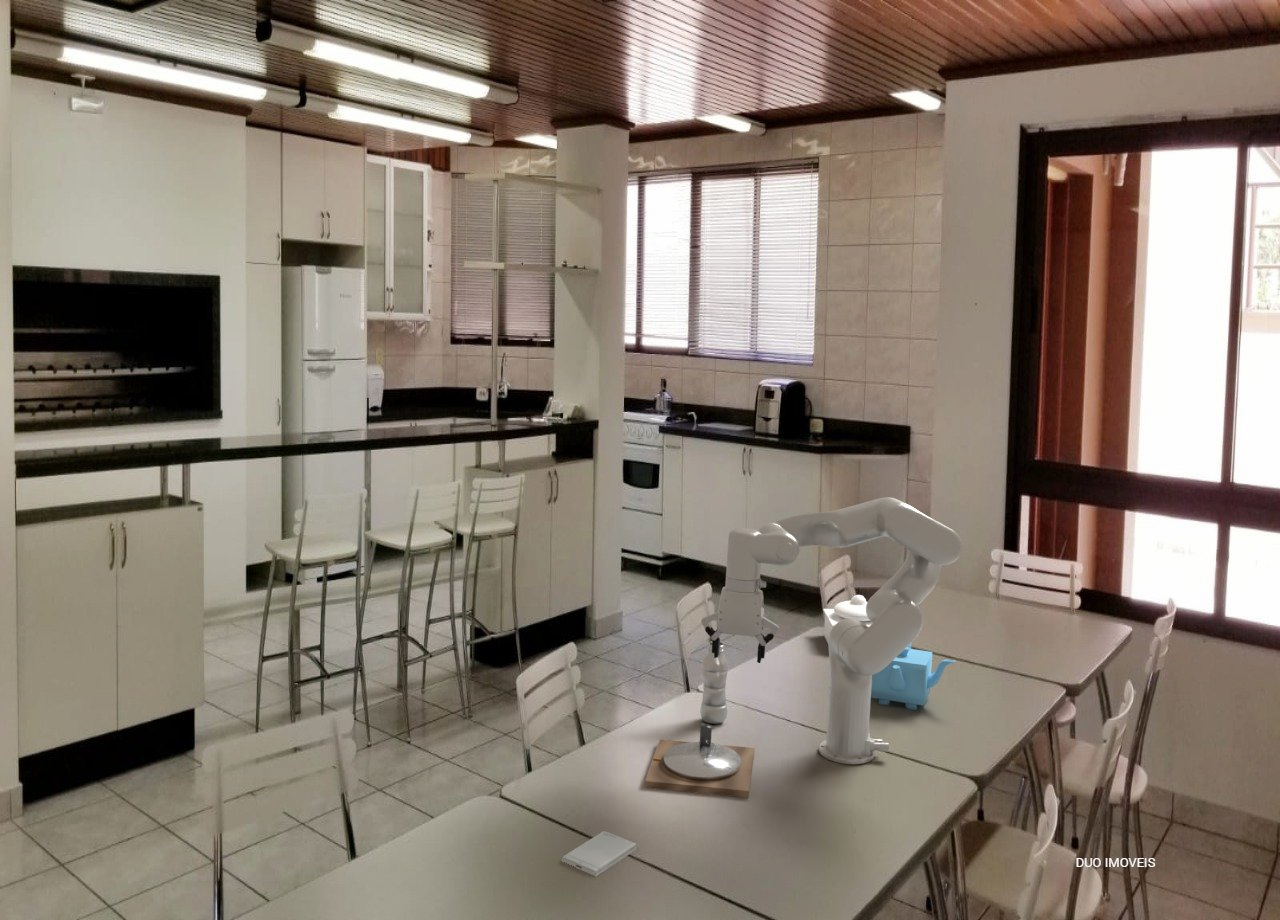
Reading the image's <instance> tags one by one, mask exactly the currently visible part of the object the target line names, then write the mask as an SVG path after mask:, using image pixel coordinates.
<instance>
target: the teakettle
mask: <svg viewBox="0 0 1280 920" xmlns="http://www.w3.org/2000/svg"><path fill="white" fill-rule="evenodd" d="M912 643H913V641H912V642H911V643H910V644H909V645H908V646H907V647H906V648H905V649H904V650H903V651H902V652H901V653H900V654H899V655H898V656H897V657H896V658H895V659H894V660H893V661H892V662H891V663H890V664H889V665H887V666H886V667H885V668H884V669H883V670H881V671H880V672H878V673H876V674H874V675H872V690H871V699H872V698H873V699H879V700H878V701H877V703H878V704H879V705H882V706H888V705H890V703H891V702H897V703H902V704H903V703H904V705H905V708H906V709H908V710H912V711H913V710H917V709H918V706H923V707H925V705H926V702H927V699H928V697H929V694H930V692H931V689H932V688H934V687H935V686H936V685H937V684H939V682H940V680H941V678H942V676H943V673H944V670H945V669H946V667H947V666H949V665H951V664H953V663H956V662H957V660H953V659H943V660H941V661H940V662H939V663H938V665H937V667H936V670H935V671H934V672H933V673H932V667H933V666H932V663H933V651H927V650H921V649H920V650H919V649H913V648H912Z"/></svg>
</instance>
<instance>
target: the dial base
mask: <svg viewBox="0 0 1280 920" xmlns="http://www.w3.org/2000/svg"><path fill="white" fill-rule="evenodd" d="M688 742H689V741H680V740H672V739H670V740H669V739H659V741H658V744H657V745H656V746H657V747H656V750H655V752H654V755H653V758H652V760H651V764H650V765H649V766H650V767H649V768H648V772H647V775H646V778H645V781H644V788H645V787H646V789H655V788H656V789H655V790H657V789H658V790H666V791H667V790H668V791H676V792H686V793H697V794H707V795H708V794H709V795H715V796H717V795H719V796H725V797H726V796H727V797H728V796H729V797H736V798H737V797H738V798H739V797H740V798H748V799H749V797H750V793H751V792H750V791H751V782H752V774H753V767H754V760H755V747H747V746H736V745H728V744H727V745H726V744H722V745H723V746H726V747H728V748H730V749H732V750H734V751H735V752H736V753H737V754H738V755H739V756H740V758H741V767H740V769H739V771H738V772H737V773H735V774H734V775H732V776H729V777H727V778H723V779H717V780H696V779H689V778H685V777H682V776H679V775H676V774H674V773H672V772H671V771H669V770H668V769H667V768H666V767H665V765H664V754H665V752H666V751H667V750H668V749H669V748H671V747H673V746H675V745H678V744H682V743H688Z"/></svg>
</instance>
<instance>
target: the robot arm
mask: <svg viewBox="0 0 1280 920" xmlns="http://www.w3.org/2000/svg"><path fill="white" fill-rule="evenodd" d="M883 537H887V538H889V539H891V540H892V541H893V542H895V543H896V544H899V545H900V546H902V547H903V548H905V549H906V550H907V551H906V557H905V560H904V563H902V566H901V567H900V568H899V569H898V570H897V572H895V573H894V575H892V577H890V578H889V579H888V580H887V581H886V582H885V583H884V584H883V585H882V586H881V587H880V588H879V589H878V590H877V591H876V592H875V593H874V594H873V595H872V596H870V598H869V599H868V601H866V602H867V605H866V614H867V616H868V618H869V619H870V621H871V622H872V624H871V625H870V626H869V627H868V626H866V625H865V624H864V623H862V622H860V621H858V620H855V619H844V620H841V621H839V622H838V623H837V624H836V625H835V626H834V627H833V628H832V630H831V632H830V635H829V645H828V656H829V658H828V659H829V686H828V700H827V718H826V722H827V723H826V735H825V736H826V738H825V739H824V740H822V741H821V742H820V743H819V746H818V752H819V753H820V755H821V756H822V757H824V758H825V759H826V760H828V761H831V762H835V763H838V764H844V765H861V764H866V763H869V762H870V761H872V760H873V759H874V758H875V751H879V752H889V749H890V747H889V746H890V745H889V743H888V742H884V741H883V739H881V738H880V739H879V738H877V739H876V738H873V737H871V734H870V719H871V699H872V697H871V690H872V675H874V674H876V673H878V672H880V671H881V670H883V669H884V668H885V667H886V666H887V665H889V664H890V663H891V662H892V661H893V660H894V659H895V658H896V657H897V656H898V655H899V654H900V653H901V652H902V651H903V650H904V649H905V648H906V647H907V646H908V645H909V644H910V643H911V642H912V643H913V642H914V641H915V639H916V638H917V637H918V635H920V632H921V630H922V628H923V624H924V614H923V611H922V609H921V608H920V606H919V605H920V604H921V603H922V602H923V601H924V600H925V599H926V597H928V596H929V595H930V594H931V592H932V591H933V590H934V588H935V586H936V585H937V583H938V581H939V578H940V574H941V569H942V566H948V565H951V564H953V563H955V562H956V561H957V560H959V558H960V556H961V555H962V552H963V542H962V539H961V536H960V535H959V533H957V531H956V530H953V529H952V528H950V527H948V526H947V525H944V524H943V523H941V522H939V521H937V520H935V519H934V518H932V517H930V516H928V515H926V514H925V513H923V512H921V511H919V510H918V509H916V508H915V507H913V506H911V505H910V504H907V503H906V502H904V501H902V500H899V499H897V498H895V497H890V496H889V497H888V496H887V497H881V498H880V497H879V498H876V499H873V500H869V501H865V502H862V503H857V504H854V505H850V506H846V507H844V508H838V509H835V510H831V511H821V512H816V513H815V512H813V513H807V514H797V515H792V516H790V517H786V518H781V519H778V520H775V521H771V522H768V523H766V524H764V525H763V526H761V527H760V528H759V529H758V530H757V529H753V528H748V527H742V528H741V527H740V528H734V529H731V530H730V531H729V533H728V540H727V553H726V555H727V557H726V570H725V571H726V572H725V586H723V587H722V589H721V593H720V598H719V603H718V609H717V612H714V613H712V614H709V615H706V616H704V617H702V618H701V624H702V626H703V628H704V631H705V632H706V634H707V635H708V636H709V638H710V639H711V642H712V653H714V658H717V657H718V655H719V648H720V642H721V638H720V636H721V635H722V634H726V635H733V636H742V637H743V636H744V637H753V638H754V637H755V639H756V640H757V641H758V646H757V658H756V659H757V660H756V662H757V663H758V664H761V661H762V660H763V659H765V655H766V645H767V644H768V643H769V642H771V641H772V640H773V639H774V638H775V636H776V634H777V633H778V631H779V629H780V626H779V625H778V624H777V623H775V622H773V621H772V620H770V619H768V618H767V617H765V616H764V615H765V604H764V603H765V602H764V601H765V599H764V592H763V590H761V589H763V588H766V587H767V581H764V580H762V578H761V566H762V564H765V565H772V566H777V567H778V566H779V567H784V566H789V565H791V564H793V563H794V562H796V560H797V559H798V558H799V555H800V550H801V549H800V548H802V547H809V546H822V547H828V548H834V549H835V548H836V549H837V548H847V547H848V548H849V547H852V546H854V545H858V544H862V543H866V542H869V541H873V540H876V539H879V538H883ZM713 621H716V630H715V629H714V628H713V627H712V626H711V624H710V622H713ZM764 626H765V627H767V628H768V629H770V631H769V633H767V634H766V635H765V634H764V633H763V629H764Z"/></svg>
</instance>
